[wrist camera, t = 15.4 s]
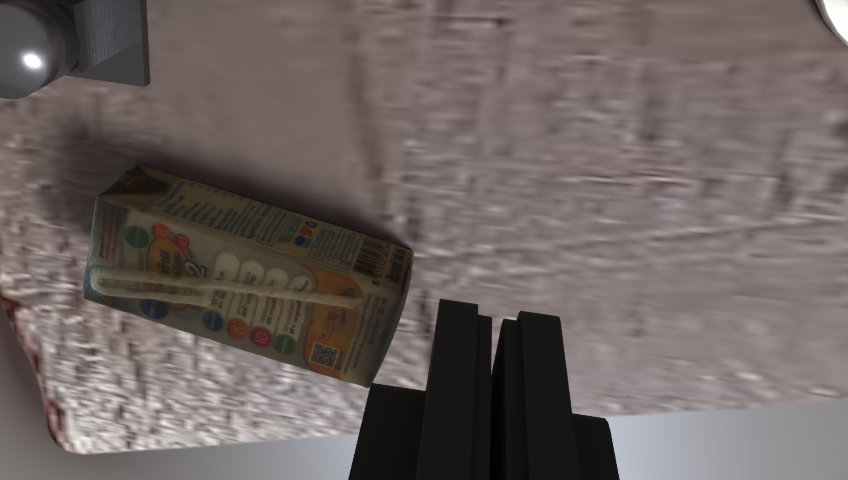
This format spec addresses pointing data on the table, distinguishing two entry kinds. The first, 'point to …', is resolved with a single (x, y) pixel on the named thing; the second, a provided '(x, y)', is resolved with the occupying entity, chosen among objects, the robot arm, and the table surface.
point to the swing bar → (34, 46)
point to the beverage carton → (246, 274)
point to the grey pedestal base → (110, 40)
